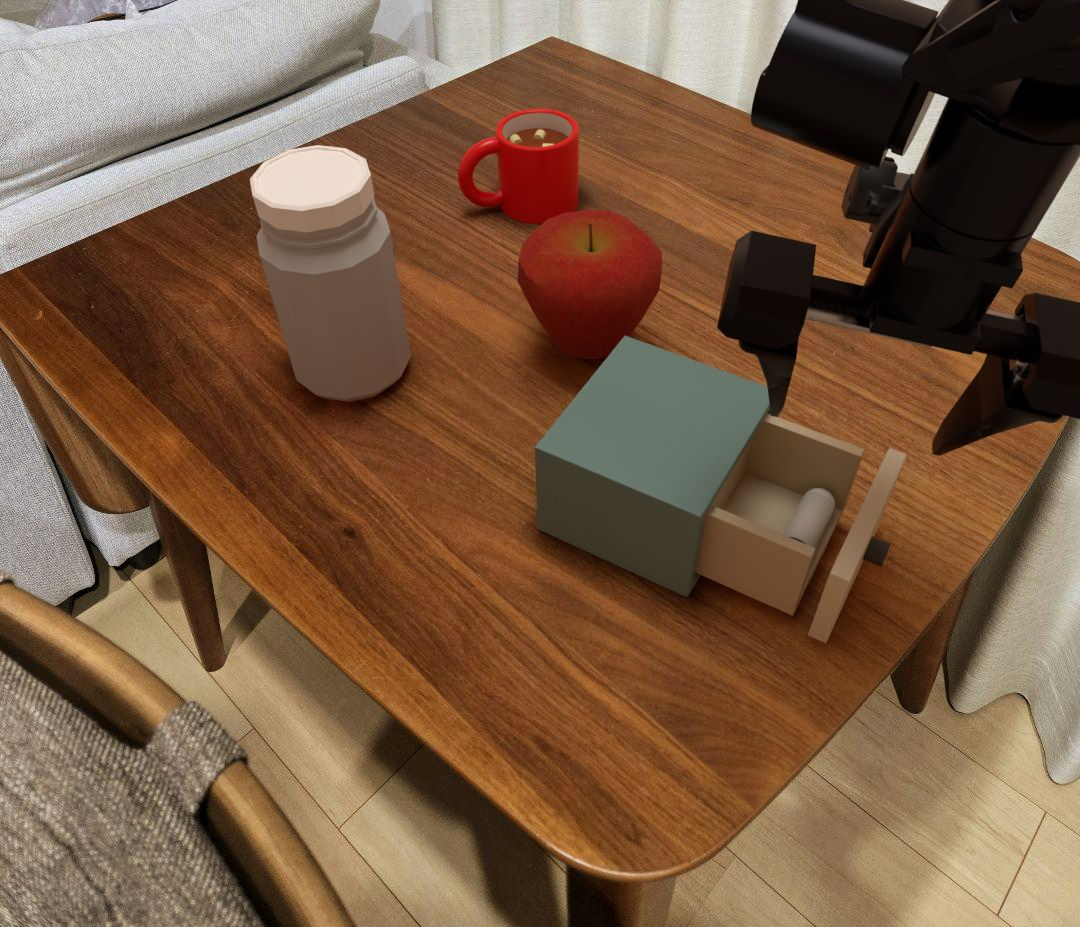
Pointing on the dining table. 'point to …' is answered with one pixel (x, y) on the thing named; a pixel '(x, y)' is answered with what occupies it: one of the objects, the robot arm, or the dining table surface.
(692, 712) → the dining table surface
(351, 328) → the jar
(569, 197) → the mug
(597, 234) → the apple
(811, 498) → the marker
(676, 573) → the cabinet
